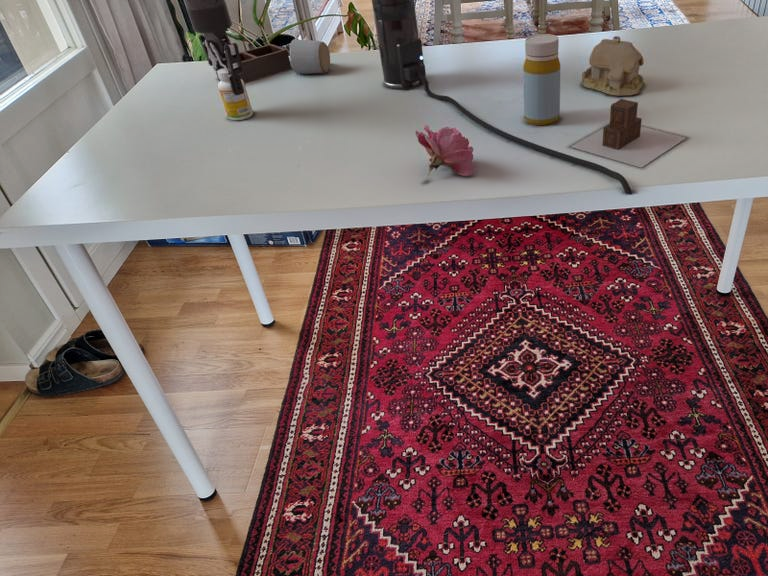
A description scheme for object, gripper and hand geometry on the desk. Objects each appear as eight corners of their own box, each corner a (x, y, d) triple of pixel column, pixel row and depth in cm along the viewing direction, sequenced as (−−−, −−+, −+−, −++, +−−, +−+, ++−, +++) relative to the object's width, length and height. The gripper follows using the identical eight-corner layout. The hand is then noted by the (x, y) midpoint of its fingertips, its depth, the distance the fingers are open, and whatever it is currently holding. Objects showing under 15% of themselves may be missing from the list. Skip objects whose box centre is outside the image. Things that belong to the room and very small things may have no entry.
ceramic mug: (325, 76, 157) (318, 43, 152) (293, 77, 158) (285, 44, 153) (337, 63, 165) (331, 31, 160) (307, 64, 166) (299, 32, 161)
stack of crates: (641, 167, 109) (645, 128, 105) (570, 147, 117) (571, 109, 113) (686, 138, 117) (692, 100, 112) (617, 120, 125) (619, 84, 120)
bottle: (536, 129, 124) (535, 46, 114) (518, 118, 129) (516, 38, 119) (566, 120, 127) (568, 39, 117) (547, 110, 131) (547, 31, 121)
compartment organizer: (291, 68, 164) (287, 49, 161) (232, 86, 156) (226, 66, 153) (275, 62, 169) (271, 43, 166) (217, 79, 161) (211, 60, 158)
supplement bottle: (234, 111, 143) (220, 66, 136) (257, 111, 142) (243, 65, 136) (224, 121, 139) (208, 74, 132) (247, 120, 138) (233, 73, 132)
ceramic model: (653, 83, 139) (659, 33, 132) (630, 100, 133) (635, 48, 126) (595, 74, 146) (598, 26, 139) (571, 89, 139) (572, 40, 133)
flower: (452, 172, 120) (480, 126, 115) (459, 200, 113) (490, 153, 108) (397, 145, 115) (424, 96, 109) (402, 173, 108) (431, 123, 102)
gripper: (239, 3, 123) (264, 93, 134) (208, -6, 132) (234, 79, 143) (202, 12, 120) (231, 103, 131) (173, 2, 128) (202, 88, 139)
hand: (232, 90), depth 137 cm, fingers closed on supplement bottle, 5 cm apart
